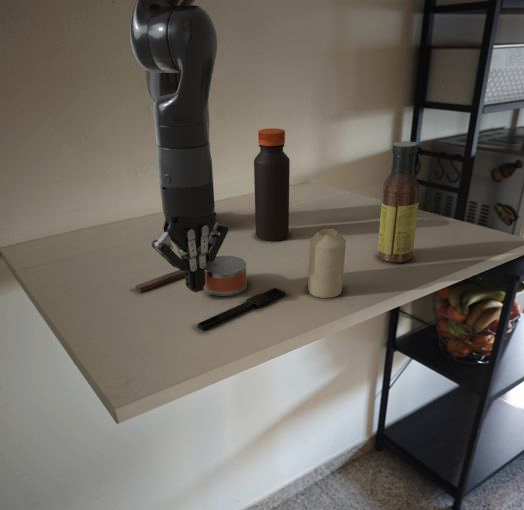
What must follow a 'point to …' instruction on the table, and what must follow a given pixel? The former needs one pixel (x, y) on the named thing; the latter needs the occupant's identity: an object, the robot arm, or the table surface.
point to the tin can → (225, 276)
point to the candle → (326, 263)
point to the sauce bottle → (399, 205)
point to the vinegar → (271, 186)
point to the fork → (243, 307)
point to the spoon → (160, 280)
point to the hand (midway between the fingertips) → (196, 290)
